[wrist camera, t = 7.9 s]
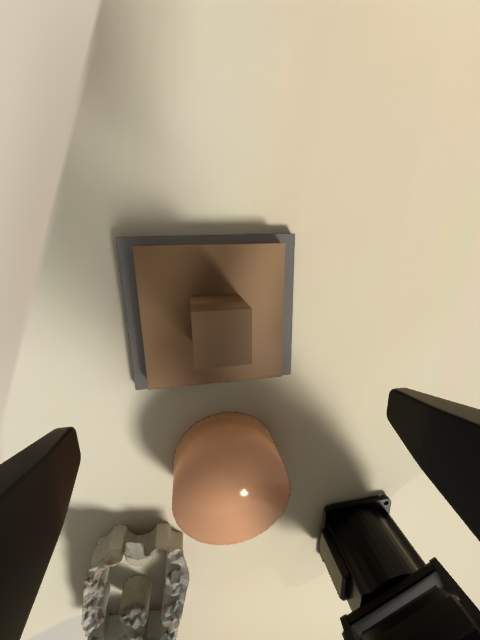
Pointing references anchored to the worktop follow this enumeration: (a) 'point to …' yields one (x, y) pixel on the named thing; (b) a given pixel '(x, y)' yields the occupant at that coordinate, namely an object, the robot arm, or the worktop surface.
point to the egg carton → (135, 587)
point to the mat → (127, 244)
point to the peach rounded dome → (228, 480)
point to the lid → (211, 312)
